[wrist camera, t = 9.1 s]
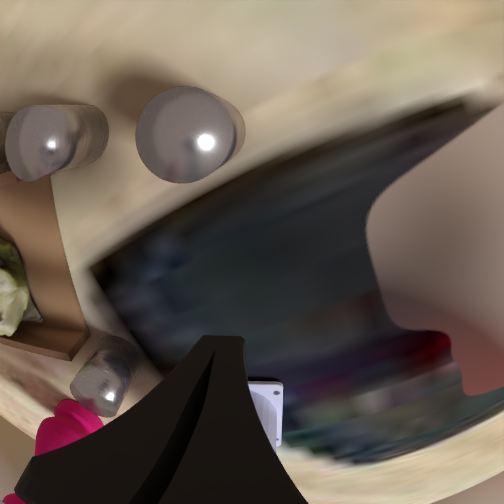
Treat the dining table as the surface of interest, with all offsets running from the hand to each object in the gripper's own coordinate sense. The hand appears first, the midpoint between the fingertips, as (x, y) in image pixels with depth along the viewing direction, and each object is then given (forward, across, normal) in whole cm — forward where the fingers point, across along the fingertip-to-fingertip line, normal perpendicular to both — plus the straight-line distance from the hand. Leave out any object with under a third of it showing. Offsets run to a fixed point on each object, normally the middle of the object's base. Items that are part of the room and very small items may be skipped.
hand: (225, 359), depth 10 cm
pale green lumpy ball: (+10, +22, +2) cm, 24 cm away
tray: (+10, +20, 0) cm, 23 cm away
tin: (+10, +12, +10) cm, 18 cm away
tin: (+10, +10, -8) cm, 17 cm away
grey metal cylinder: (+10, +2, -7) cm, 12 cm away
